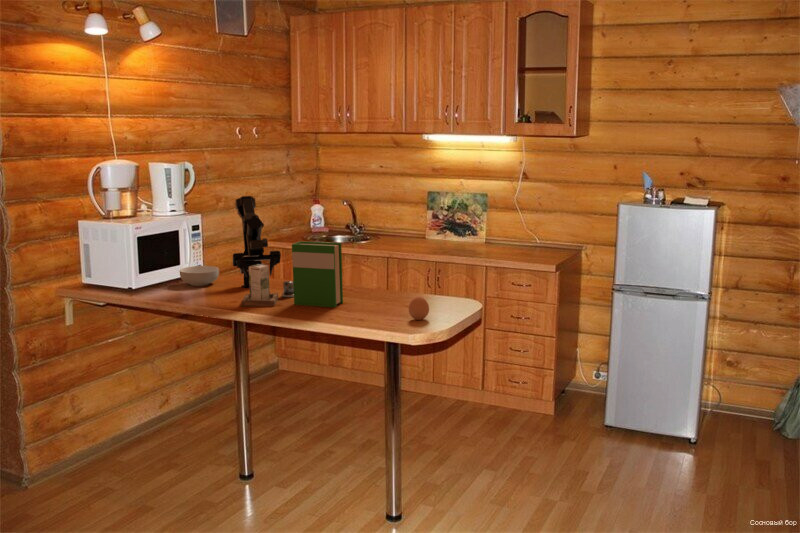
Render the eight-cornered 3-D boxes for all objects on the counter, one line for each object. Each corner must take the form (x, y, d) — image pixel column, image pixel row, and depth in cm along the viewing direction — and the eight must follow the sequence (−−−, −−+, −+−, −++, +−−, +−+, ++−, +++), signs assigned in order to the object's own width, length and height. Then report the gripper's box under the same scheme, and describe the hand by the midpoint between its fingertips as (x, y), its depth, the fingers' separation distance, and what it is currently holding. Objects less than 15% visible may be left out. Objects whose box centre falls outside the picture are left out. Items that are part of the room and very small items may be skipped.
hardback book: (343, 303, 306) (341, 243, 302) (335, 307, 300) (333, 246, 295) (302, 300, 312) (300, 241, 308) (294, 304, 305) (291, 244, 301)
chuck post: (286, 294, 324) (285, 280, 323) (299, 295, 321) (298, 280, 320) (279, 297, 318) (278, 282, 317) (291, 298, 316) (291, 283, 315)
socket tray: (246, 299, 315) (246, 294, 315) (278, 298, 316) (277, 293, 315) (241, 307, 302) (241, 301, 302) (274, 306, 303) (274, 300, 303)
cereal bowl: (191, 290, 334) (190, 274, 333) (173, 284, 346) (172, 269, 345) (226, 284, 345) (225, 268, 344) (208, 279, 358) (207, 263, 356)
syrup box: (258, 298, 313) (257, 263, 310) (270, 300, 310) (268, 264, 307) (249, 301, 308) (247, 265, 305) (261, 303, 305) (259, 267, 303)
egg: (429, 317, 283) (429, 294, 281) (429, 322, 276) (428, 298, 274) (409, 317, 283) (408, 294, 282) (408, 322, 276) (408, 298, 275)
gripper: (231, 233, 306) (235, 265, 297) (279, 230, 311) (284, 262, 303) (230, 249, 315) (234, 281, 306) (277, 246, 320) (282, 278, 311)
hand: (259, 275), depth 306 cm, fingers open, 9 cm apart
